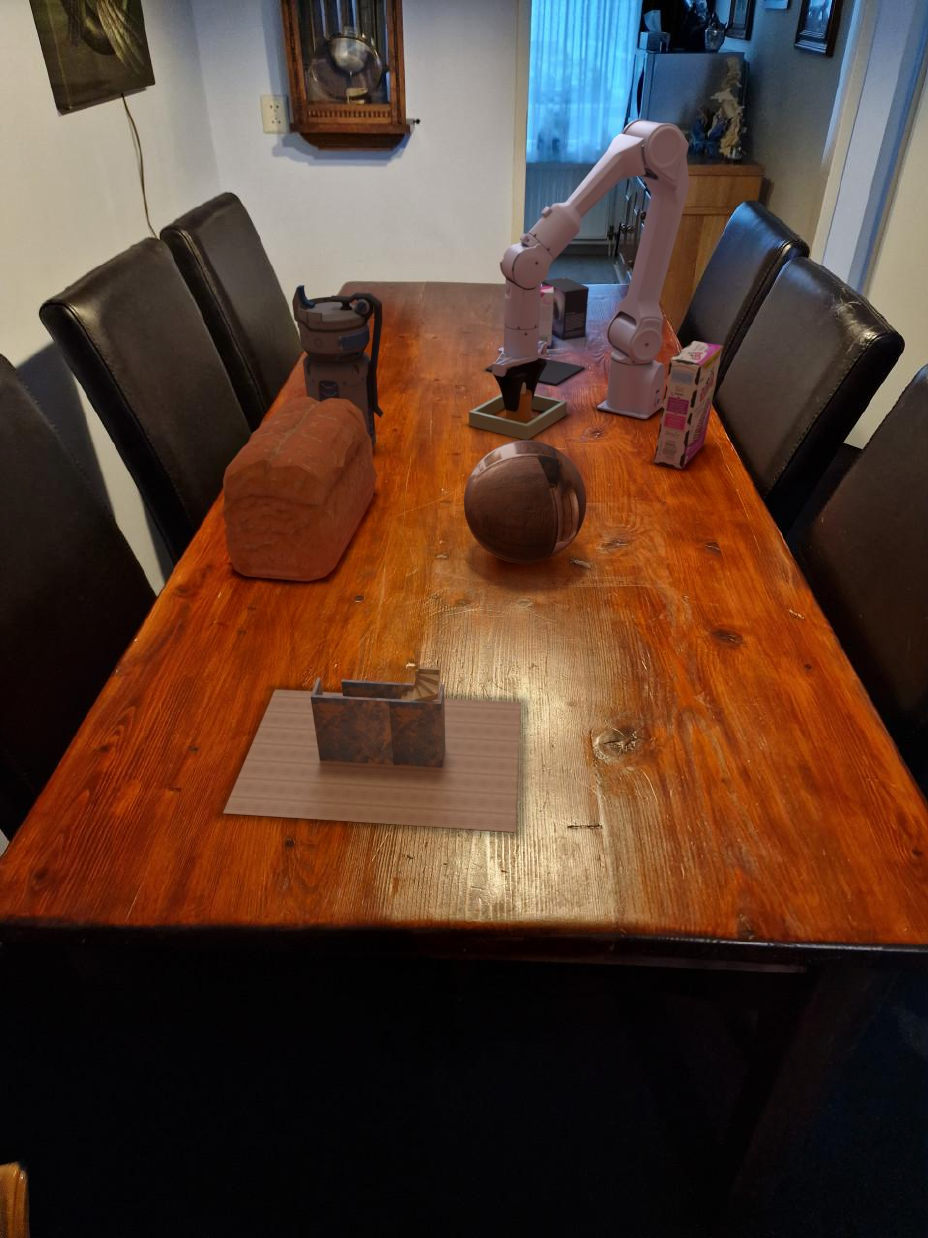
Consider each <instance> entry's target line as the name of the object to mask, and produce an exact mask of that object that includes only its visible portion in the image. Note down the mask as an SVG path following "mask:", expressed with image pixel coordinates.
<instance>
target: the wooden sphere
mask: <svg viewBox="0 0 928 1238" xmlns="http://www.w3.org/2000/svg"><path fill="white" fill-rule="evenodd" d="M463 511H464V518H465V520H466V524H467V527H468V528H469V531H470V532H471V533H470V534H472V536H473V538H474V539H475V541H476V542H477V543H478V544H479V545H480V546H481V547H482V548H483V549H484V550H485V551H486V552H488V553H489V554H490V555H492V556H493V557H495V558H498V559H500V560H502V561H504V562H507V563H512V564H518V565H530V564H531V565H532V564H536V563H537V564H538V563H541V562H544V561H547V560H550V559H552V558H554V557H556V556H557V555H559V554H560V553H562V552H563V551H565V549H567V548H568V547H569V546H570V545H571V544H572V542H573V541H574V540H575V539H576V537H577V536H578V534H579V532H580V530H581V528H582V526H583V523H584V521H585V517H586V512H587V491H586V487H585V482H584V479H583V477H582V475H581V473H580V471H579V469H578V468H577V466H576V465H575V464H574V462H573V461H572V459H570V457H568V456H567V455H566V454H565V453H563V452H562V451H560V450H559V449H557V448H556V447H554V446H552V445H550V444H547V443H544V442H541V441H536V440H516V441H511V442H507V443H504V444H502V445H500V446H497V447H495V448H494V449H492V450H491V451H489V452H488V453H486V454H485V455H484V456H483V457H482V458H481V459H480V461H478V462H477V464H476V465H475V467H474V468H473V469H472V471H471V473H470V475H469V477H468V479H467V482H466V485H465V489H464V495H463Z"/></svg>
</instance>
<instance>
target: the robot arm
mask: <svg viewBox="0 0 928 1238" xmlns="http://www.w3.org/2000/svg"><path fill="white" fill-rule="evenodd" d="M689 148H690V143H689V141H688V140H687V139H686V137H685V136H684V134H683V132H682V131H681V129H680V128H679V127H678V126H677V125H676V124H674V123H671V122H663V123H662V122H656V121H649V120H647V119H645V118H637V119H634V120H632V121H630V122H629V123H627V125H626V126H625V127H624V129H623V130H622V132H621V133H619V134H618V135H616V136H615V137H614V138H613V139H612V141H611V143H610V144H609V146H608V148H607V150H606V151H605V153H604V154H603V155H602V156H601V158H600V159H599V160H598V162H597V163H596V164H595V165H594V166H593V167H592V169H591V170H590V171H589V172H588V173H587V175H586V177H585V178H584V179H583V180H582V181H581V183H580V184H579V185H578V186H577V188H576V189H575V190H574V191H573V192H572V194H571V195H570V196H569V197H568V198H567V200H566V201H564V202H555V203H553V204H552V205H551V206H545V207H544V208H543V209H542V211H541V212H540V213H541V215H542V216H541V217H540V218H539V219H538V221H537V222H536V223H535V224H534V225H533V226H532V227H531V229H530V230H529V231H528V232H527V233H523V234H521V236H520V237H519V240H520V242H516V243H513V244H512V245H510V246H509V247H508V248H507V249H506V250H505V252H504V253H503V258H502V260H501V261H500V262H499V268H500V272H501V274H502V275H503V277H504V278H505V288H504V289H505V291H504V317H503V319H504V321H503V325H504V326H503V346H502V347H500V348H498V350H497V354H498V355H499V356H498V358H497V359H496V360H495V361H493V362H492V365H491V366H492V372H491V373H492V376H493V377H494V379H495V381H496V382H497V384H498V387H499V389H500V392H501V393H500V394H502V397H503V402H504V406H505V408H504V409H505V411H506V410H508V411H512V412H516V411H517V410H518V407H519V401H520V393H521V389H522V385H523V382H524V383H526V389H528V390H530V391H531V392H532V400H533V397H534V394H535V393H536V389H537V387H538V383H539V382H538V381H539V378H540V376H541V374H542V372H543V370H544V368H545V367H546V365H547V360H545V359H546V358H543V359H541V358H542V357H540V356H541V355H542V356H545V355H546V354H547V353H548V348H547V342H543V341H539V320H540V300H541V287H542V282H544V281H545V280H547V277H548V275H549V273H550V266H551V264H552V263H553V262H554V261H555V259H557V257H558V256H559V255H560V254H562V252H563V251H564V250H565V249H566V248H567V247H568V245H569V244H570V243H571V242H572V241H573V240H574V239H575V238H576V236H577V235H578V234H580V231H581V225H582V219H583V217H584V216H586V215H587V213H589V212H590V211H591V210H592V209H593V208H594V207H595V206H596V205H597V204H598V203H599V202H600V201H601V200H602V199H603V198H604V196H606V195H607V194H608V193H609V192H610V191H611V190H612V189H613V188H614V187H615V186H616V185H617V184H618V183H619V182H620V181H621V180H623V179H630V178H636V177H641V178H642V179H643V181H644V183H645V184H646V186H647V187H648V189H649V190H650V198H649V202H648V206H647V211H646V214H645V218H644V223H643V228H642V232H641V236H640V240H639V243H638V248H637V252H636V257H635V261H634V264H633V269H632V273H631V276H630V280H629V281H630V282H629V285H628V289H627V294H626V295H625V297H624V298H623V299H622V300H620V302H618V303H617V306H616V309H615V313H614V315H613V316H612V318H611V319H610V320H609V322H608V324H607V326H606V333H605V335H606V339H607V341H608V344H609V345H611V350H610V358H609V359H610V360H609V369H608V378H607V379H608V381H607V388H606V389H607V390H606V399H605V400H604V401H602V402H601V403H599V404H598V405H597V406H596V409H597V410H600V411H605V412H609V413H615V414H619V415H622V416H627V417H632V418H637V419H640V420H647V419H649V418H650V417H651V416H652V415H653V414H655V413H656V412H657V411H658V410H660V409H661V408H663V399H664V392H665V385H666V384H665V383H666V378H667V377H666V376H667V369H666V368H667V367H666V365H665V364H664V363H663V362H659V361H656V360H655V358H656V357H657V356H658V355H659V354H660V352H661V349H662V347H663V344H664V343H663V342H664V337H663V336H664V335H663V325H664V315H663V312H662V309H661V305H660V299H661V295H662V293H663V288H664V284H665V280H666V276H667V273H668V270H669V266H670V263H671V257H672V254H673V250H674V246H675V243H676V240H677V235H678V231H679V227H680V223H681V220H682V216H683V212H684V209H685V205H686V200H687V197H688V193H689V190H690V176H689V168H688V159H687V155H688V151H689Z"/></svg>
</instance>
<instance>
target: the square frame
mask: <svg viewBox="0 0 928 1238" xmlns="http://www.w3.org/2000/svg"><path fill="white" fill-rule="evenodd" d="M567 407H568V401H566V400H564V399H563V400H562V399H557V398H553V397H549V396H545V395H540V394H534V397H533V400H532V406H531V410H536V411H540V412H543V413H541V414H539V415H538V416H537V417H535V418H533V419H531V421H530V422H528V423H527V424H525V423H521V422H517V421H512V420H508V419H506V418H505V417H500V416H496V415H495V414H497V413H498V412H500V411H502V410H503V409H505V406H504V402H503V397H502V393H500V394H499V395H497V396H495V397H493V398H492V399H491V398H490V400H487V401H485V402H484V403H482V404H480V405H479V406H477V407H475V408H473V409H472V410H469V411H468V426H469V427H473V428H476V429H480V430H485V431H489V432H492V433H496V434H501V435H504V436H507V437H512V438H516V439H519V440H522V441H530V439H532V438H533V437H535V436H537V435H538V434H539V433H541V432H542V431H544V430H545V429H547V428H548V427H550V426H551V425H553V424H554V423H556V422H558V421H559V420H561V419H562V418H564V417H565V416H567Z"/></svg>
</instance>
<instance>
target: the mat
mask: <svg viewBox="0 0 928 1238" xmlns="http://www.w3.org/2000/svg"><path fill="white" fill-rule="evenodd" d="M540 358H541V359H545V360H547V365H546V367H545V368H544V370H543V372H542V374H541V376H540V378H539V381H538V383H542V384H545V385H550V386H551V385H552V386H558V385H560V384H561V383H563V382H564V381H566V380H568V379H569V378H571V377H573V376H575V375H576V374H578V373H580V372H582V371H583V370H585V369H586V366H583V365H577V364H574V363H568V362H562V361H558V360H553V359H548V358H543V357H540ZM485 371H486V372H491V373H492V365H490V366H488V367H486V368H485Z"/></svg>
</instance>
